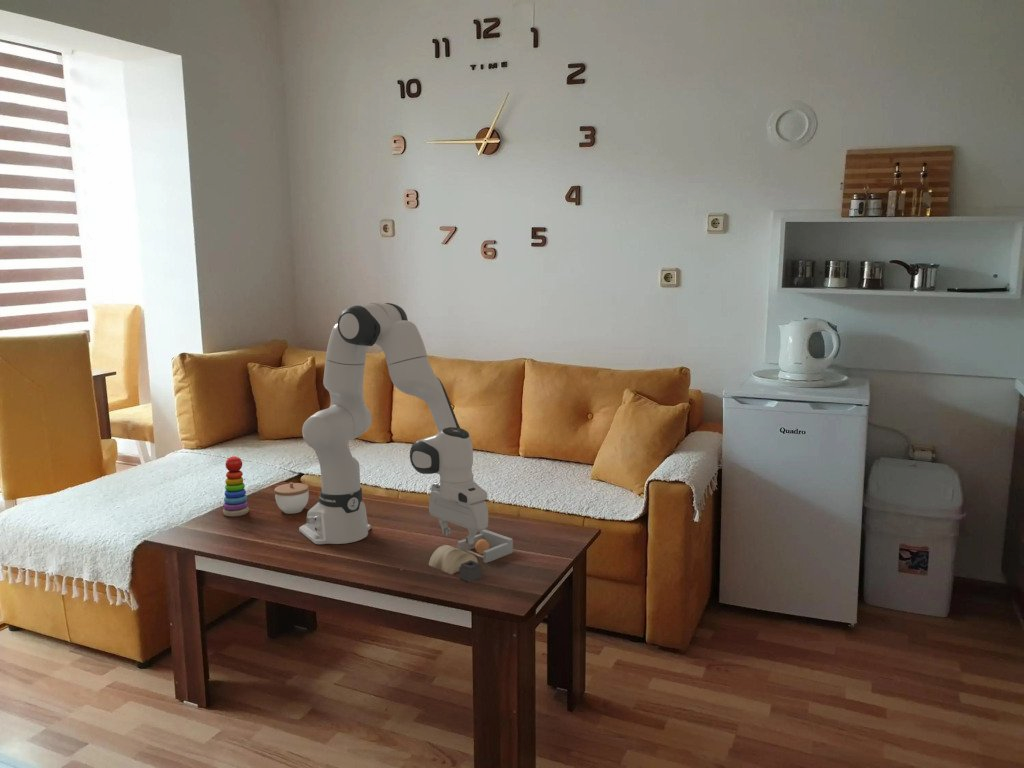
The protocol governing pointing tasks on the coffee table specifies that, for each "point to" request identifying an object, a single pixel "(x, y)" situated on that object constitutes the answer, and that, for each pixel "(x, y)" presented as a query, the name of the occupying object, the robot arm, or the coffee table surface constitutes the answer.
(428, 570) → the coffee table surface
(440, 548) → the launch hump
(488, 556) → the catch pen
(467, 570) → the cube with raised frame
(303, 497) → the lidded jar
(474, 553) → the line
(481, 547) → the ball
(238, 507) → the stacking toy
